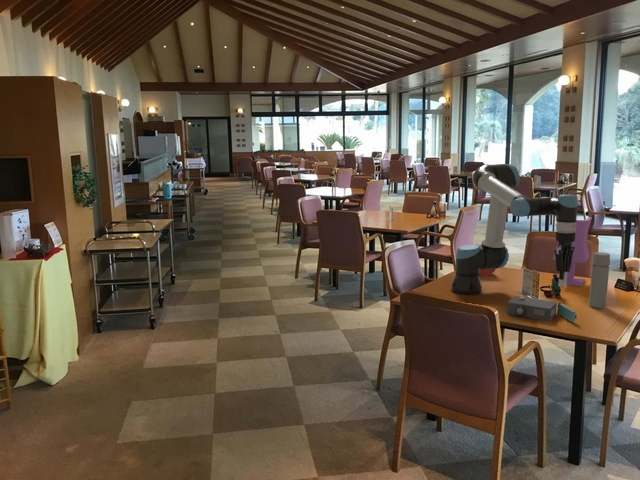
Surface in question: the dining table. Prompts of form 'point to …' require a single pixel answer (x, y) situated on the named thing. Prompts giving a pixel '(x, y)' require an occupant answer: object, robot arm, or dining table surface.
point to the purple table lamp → (578, 251)
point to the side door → (566, 312)
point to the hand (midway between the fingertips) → (562, 286)
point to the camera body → (532, 308)
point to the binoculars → (553, 288)
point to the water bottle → (599, 280)
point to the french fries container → (486, 270)
